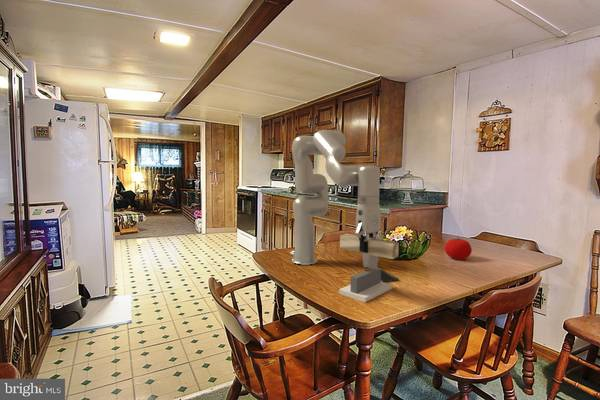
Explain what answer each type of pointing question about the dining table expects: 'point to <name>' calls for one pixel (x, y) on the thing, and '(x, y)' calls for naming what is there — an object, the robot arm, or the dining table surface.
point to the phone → (387, 277)
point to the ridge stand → (366, 285)
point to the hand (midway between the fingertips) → (367, 250)
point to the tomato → (458, 249)
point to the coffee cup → (370, 257)
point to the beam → (370, 246)
